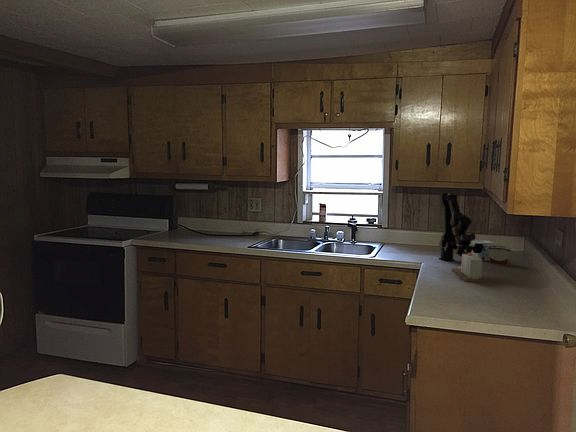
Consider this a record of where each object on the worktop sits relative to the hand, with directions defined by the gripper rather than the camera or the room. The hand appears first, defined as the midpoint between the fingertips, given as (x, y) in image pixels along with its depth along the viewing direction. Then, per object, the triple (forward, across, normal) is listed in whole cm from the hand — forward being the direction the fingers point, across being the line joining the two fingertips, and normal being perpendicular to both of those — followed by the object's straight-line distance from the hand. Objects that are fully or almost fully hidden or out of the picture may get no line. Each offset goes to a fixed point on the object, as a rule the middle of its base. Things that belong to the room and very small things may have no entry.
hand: (466, 261), depth 246 cm
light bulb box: (-22, +21, +32) cm, 44 cm away
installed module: (+11, 0, -4) cm, 11 cm away
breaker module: (+6, 0, +1) cm, 6 cm away
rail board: (+7, 0, +3) cm, 7 cm away
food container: (-15, +27, +25) cm, 40 cm away
